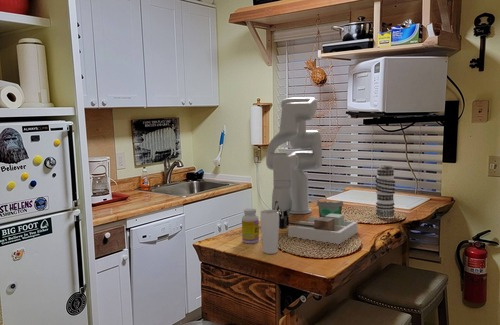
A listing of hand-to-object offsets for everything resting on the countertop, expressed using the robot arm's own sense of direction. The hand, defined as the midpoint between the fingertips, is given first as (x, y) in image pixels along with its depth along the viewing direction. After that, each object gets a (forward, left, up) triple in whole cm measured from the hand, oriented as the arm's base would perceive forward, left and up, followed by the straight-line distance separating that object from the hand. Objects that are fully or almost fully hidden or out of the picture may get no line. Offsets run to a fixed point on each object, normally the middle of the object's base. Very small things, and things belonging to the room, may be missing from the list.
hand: (283, 226), depth 178 cm
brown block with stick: (+10, 0, -1) cm, 10 cm away
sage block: (+19, +9, -1) cm, 22 cm away
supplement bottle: (-5, -18, -3) cm, 19 cm away
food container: (+10, +25, -3) cm, 27 cm away
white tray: (+16, +5, -3) cm, 17 cm away
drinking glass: (+9, -26, -3) cm, 28 cm away
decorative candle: (+29, +48, -3) cm, 56 cm away
